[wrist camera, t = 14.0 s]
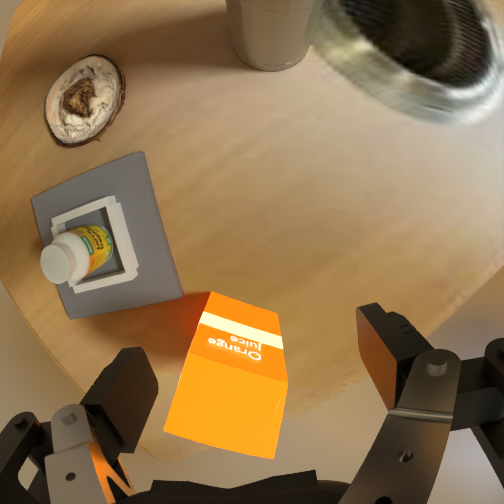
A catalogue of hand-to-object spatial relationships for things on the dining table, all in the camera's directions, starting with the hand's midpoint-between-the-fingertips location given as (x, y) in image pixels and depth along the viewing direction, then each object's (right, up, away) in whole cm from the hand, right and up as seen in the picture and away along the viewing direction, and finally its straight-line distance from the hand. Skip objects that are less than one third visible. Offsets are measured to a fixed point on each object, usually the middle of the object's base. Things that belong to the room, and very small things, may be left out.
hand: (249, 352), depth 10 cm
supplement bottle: (-19, +5, +24) cm, 31 cm away
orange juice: (-2, -6, +28) cm, 29 cm away
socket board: (-19, +5, +25) cm, 32 cm away
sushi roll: (-22, +23, +22) cm, 39 cm away
